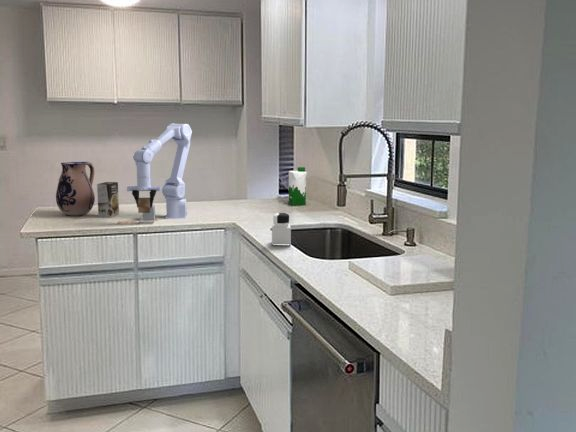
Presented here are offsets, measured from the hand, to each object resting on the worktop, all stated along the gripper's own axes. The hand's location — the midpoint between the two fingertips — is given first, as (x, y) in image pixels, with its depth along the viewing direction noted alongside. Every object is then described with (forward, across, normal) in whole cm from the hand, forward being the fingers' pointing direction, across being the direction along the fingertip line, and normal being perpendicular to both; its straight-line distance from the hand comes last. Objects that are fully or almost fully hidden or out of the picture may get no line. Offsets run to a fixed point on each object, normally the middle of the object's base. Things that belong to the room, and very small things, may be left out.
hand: (144, 207), depth 263 cm
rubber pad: (+8, 0, 0) cm, 8 cm away
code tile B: (+8, 0, +8) cm, 11 cm away
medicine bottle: (+8, +58, -43) cm, 72 cm away
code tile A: (+8, -8, +1) cm, 11 cm away
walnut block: (+2, 0, 0) cm, 2 cm away
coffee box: (+8, -20, +18) cm, 28 cm away
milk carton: (+8, +74, +47) cm, 88 cm away
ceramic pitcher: (+8, -36, +26) cm, 45 cm away
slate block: (+7, 0, +8) cm, 11 cm away
